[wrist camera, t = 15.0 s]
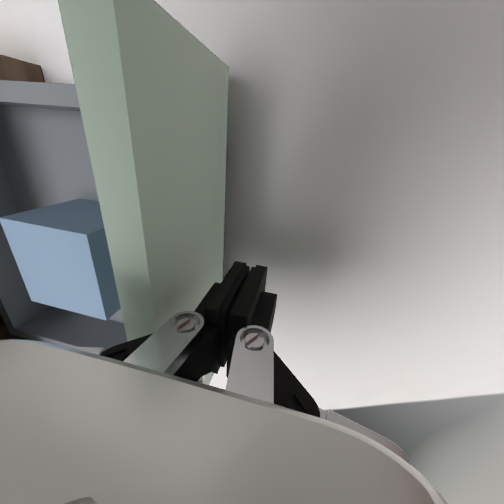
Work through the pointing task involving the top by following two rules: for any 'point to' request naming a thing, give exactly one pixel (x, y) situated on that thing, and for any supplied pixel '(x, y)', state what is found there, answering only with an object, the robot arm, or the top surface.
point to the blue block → (65, 257)
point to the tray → (121, 166)
